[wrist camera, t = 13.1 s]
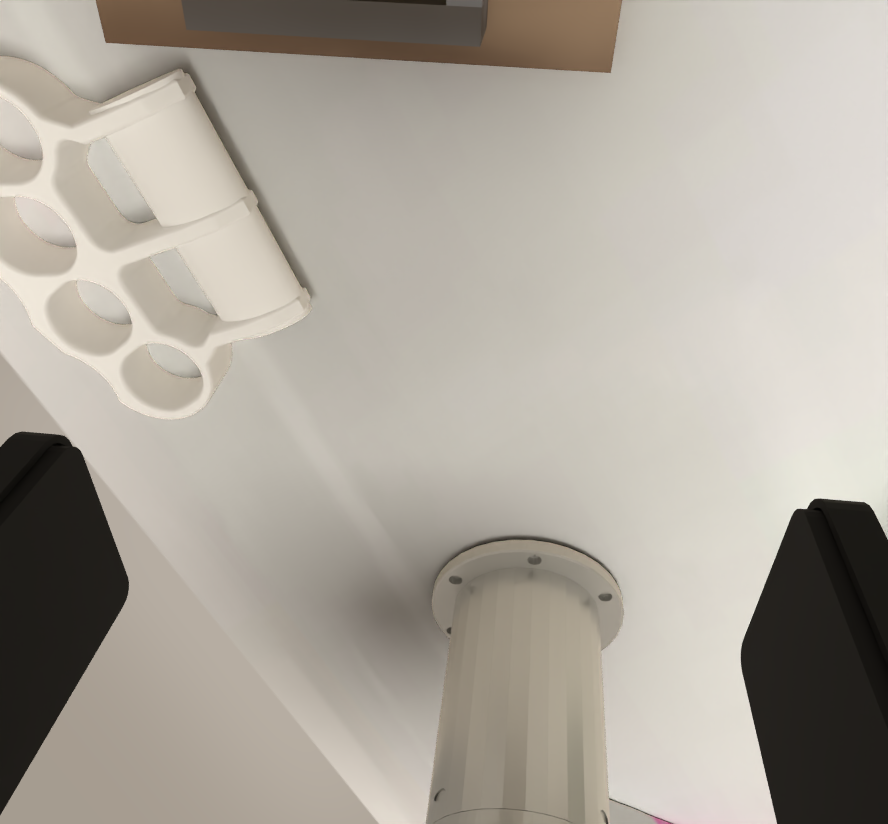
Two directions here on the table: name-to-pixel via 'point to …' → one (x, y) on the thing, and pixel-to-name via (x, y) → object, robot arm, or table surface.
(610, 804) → the gum box
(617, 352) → the table surface
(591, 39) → the socket board
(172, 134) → the knuckle duster
